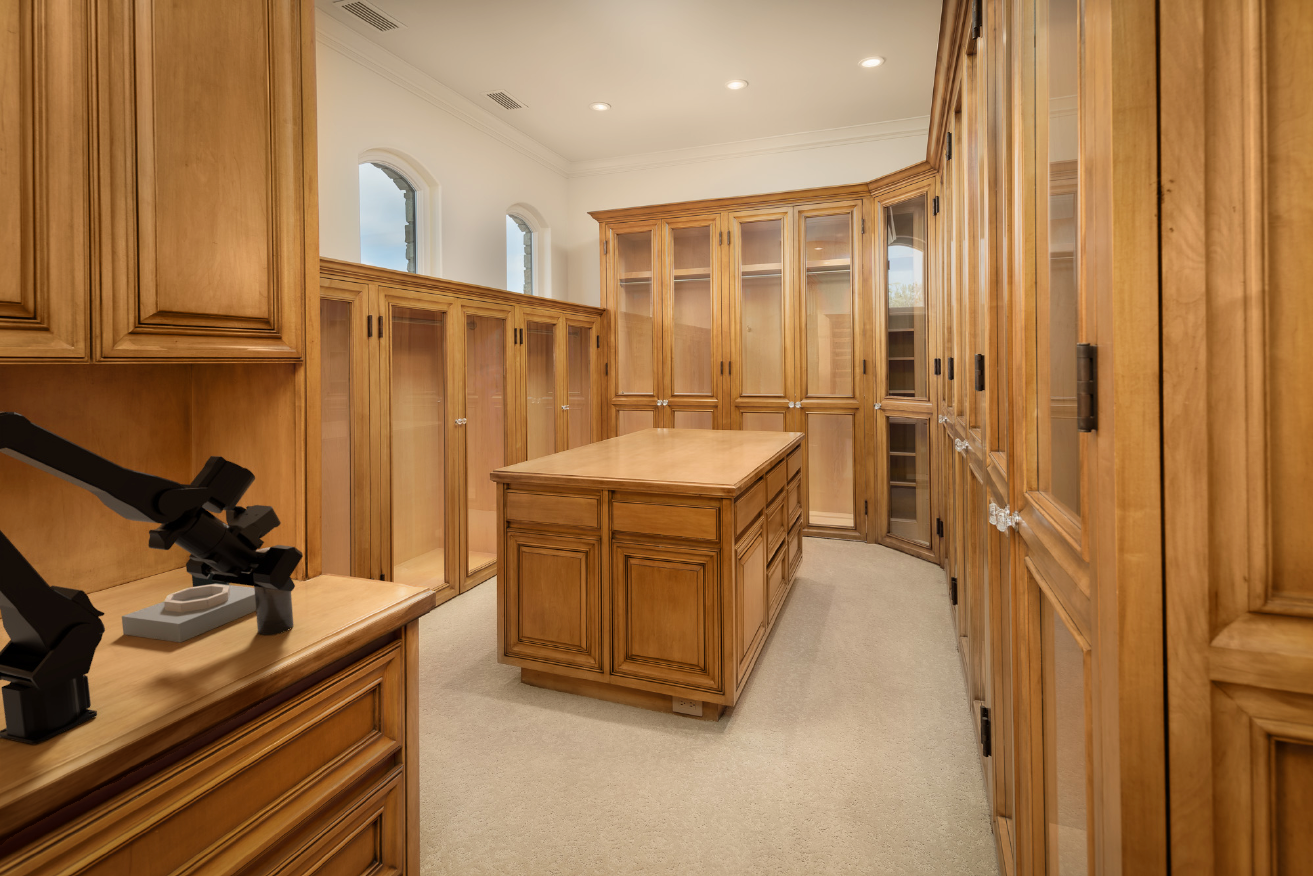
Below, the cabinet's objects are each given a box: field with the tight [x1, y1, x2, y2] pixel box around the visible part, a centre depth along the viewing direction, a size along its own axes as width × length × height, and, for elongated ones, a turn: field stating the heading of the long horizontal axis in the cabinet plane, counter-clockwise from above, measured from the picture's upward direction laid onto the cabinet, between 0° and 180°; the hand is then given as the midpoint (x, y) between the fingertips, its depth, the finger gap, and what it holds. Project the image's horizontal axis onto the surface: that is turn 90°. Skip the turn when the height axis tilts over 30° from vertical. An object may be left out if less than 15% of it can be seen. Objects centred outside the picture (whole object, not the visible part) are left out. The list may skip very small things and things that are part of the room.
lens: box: [253, 546, 294, 636], centre depth 103 cm, size 5×5×13 cm
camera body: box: [121, 584, 256, 643], centre depth 108 cm, size 16×12×4 cm
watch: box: [191, 572, 230, 587], centre depth 124 cm, size 6×8×11 cm
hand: (280, 586), depth 104 cm, fingers closed on lens, 5 cm apart
